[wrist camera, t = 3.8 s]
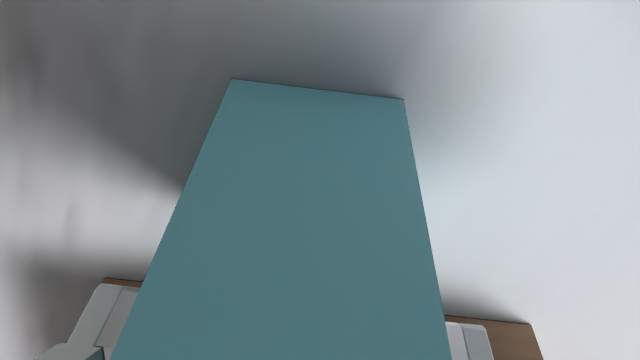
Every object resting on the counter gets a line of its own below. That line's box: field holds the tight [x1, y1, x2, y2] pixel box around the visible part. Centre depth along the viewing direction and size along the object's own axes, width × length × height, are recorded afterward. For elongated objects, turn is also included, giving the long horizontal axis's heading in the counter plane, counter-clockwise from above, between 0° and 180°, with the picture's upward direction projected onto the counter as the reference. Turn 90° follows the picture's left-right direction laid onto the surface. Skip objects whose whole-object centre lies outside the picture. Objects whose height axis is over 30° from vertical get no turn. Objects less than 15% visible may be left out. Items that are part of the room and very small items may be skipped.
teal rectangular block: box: [109, 79, 452, 360], centre depth 12 cm, size 5×5×14 cm
